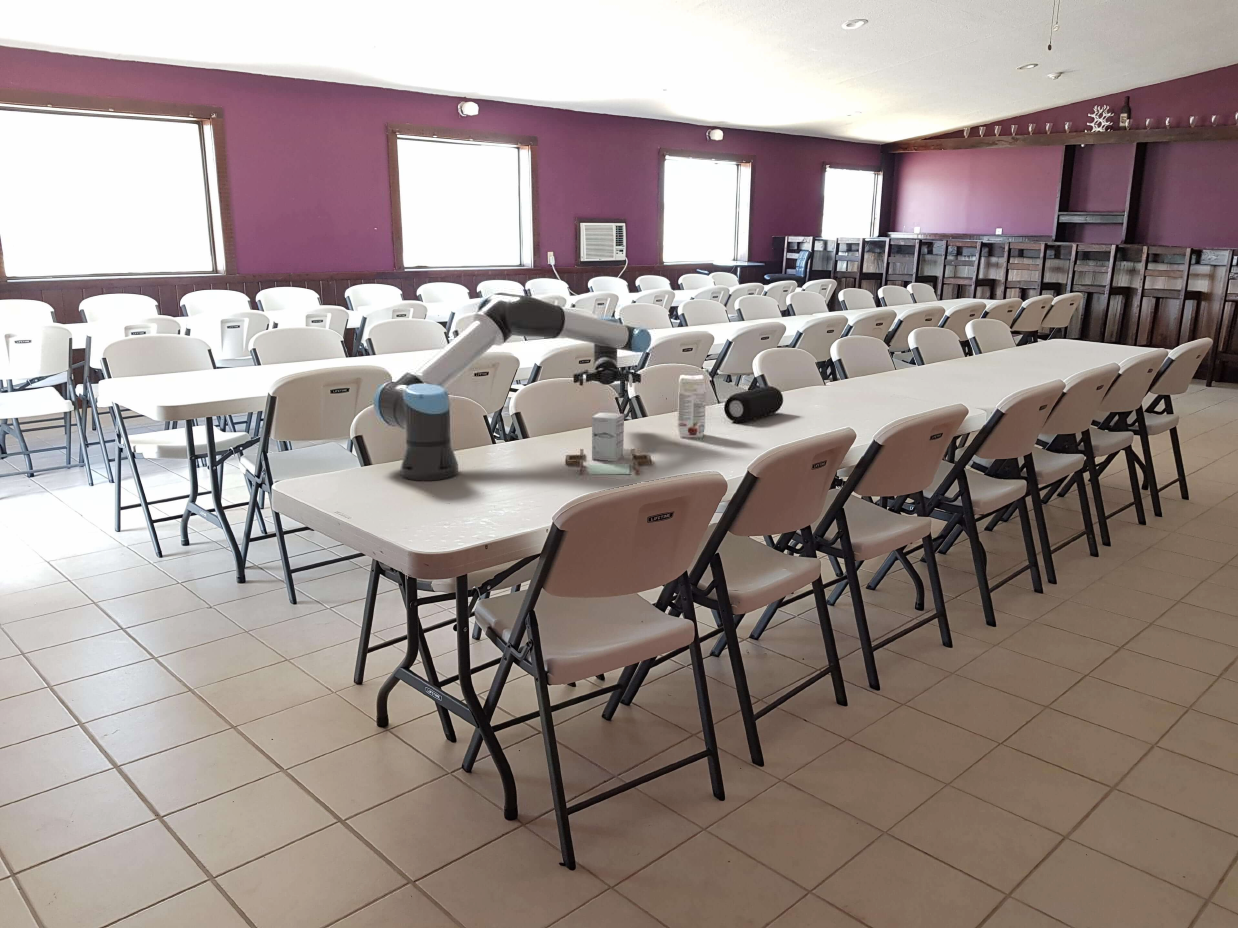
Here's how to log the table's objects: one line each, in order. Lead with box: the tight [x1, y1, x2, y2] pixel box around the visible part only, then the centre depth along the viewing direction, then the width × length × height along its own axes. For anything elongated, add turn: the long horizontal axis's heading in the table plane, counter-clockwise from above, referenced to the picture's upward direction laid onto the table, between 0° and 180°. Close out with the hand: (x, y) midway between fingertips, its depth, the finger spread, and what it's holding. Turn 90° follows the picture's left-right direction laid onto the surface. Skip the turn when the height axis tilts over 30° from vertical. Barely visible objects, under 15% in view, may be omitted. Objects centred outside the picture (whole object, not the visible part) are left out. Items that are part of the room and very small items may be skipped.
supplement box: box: [591, 411, 625, 462], centre depth 270 cm, size 7×7×13 cm
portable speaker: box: [723, 385, 784, 424], centre depth 327 cm, size 26×10×10 cm, turn 140°
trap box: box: [564, 448, 653, 476], centre depth 264 cm, size 24×24×2 cm
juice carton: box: [677, 374, 707, 439], centre depth 298 cm, size 8×9×19 cm
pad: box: [588, 463, 631, 476], centre depth 258 cm, size 11×10×1 cm
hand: (607, 382), depth 276 cm, fingers open, 13 cm apart
